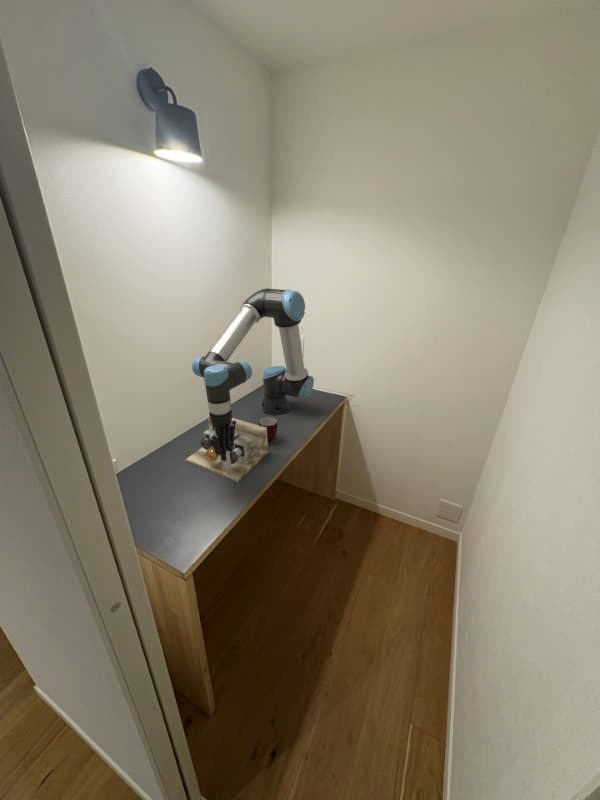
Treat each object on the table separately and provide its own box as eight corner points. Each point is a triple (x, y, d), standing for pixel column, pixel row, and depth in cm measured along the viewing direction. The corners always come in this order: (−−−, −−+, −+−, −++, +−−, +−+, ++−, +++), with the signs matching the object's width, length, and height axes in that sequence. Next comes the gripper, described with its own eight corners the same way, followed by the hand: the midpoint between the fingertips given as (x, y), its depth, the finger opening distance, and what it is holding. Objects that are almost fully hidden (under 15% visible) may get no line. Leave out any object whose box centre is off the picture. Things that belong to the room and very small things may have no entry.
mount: (220, 436, 144) (217, 413, 139) (268, 452, 134) (266, 427, 128) (186, 461, 127) (181, 436, 122) (237, 481, 117) (235, 454, 112)
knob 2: (239, 450, 128) (238, 440, 126) (248, 453, 126) (248, 443, 124) (225, 461, 121) (224, 451, 119) (235, 465, 119) (234, 455, 117)
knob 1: (215, 437, 136) (213, 428, 134) (223, 440, 134) (222, 431, 132) (201, 447, 129) (199, 438, 127) (210, 451, 127) (208, 441, 125)
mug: (267, 450, 135) (266, 430, 131) (252, 444, 139) (251, 425, 134) (281, 438, 143) (280, 419, 139) (266, 434, 147) (265, 415, 142)
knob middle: (221, 448, 129) (219, 438, 127) (230, 451, 127) (229, 441, 125) (206, 459, 122) (205, 449, 120) (216, 463, 120) (214, 452, 118)
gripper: (223, 400, 114) (230, 453, 125) (198, 416, 104) (207, 472, 114) (240, 404, 111) (245, 459, 122) (216, 421, 101) (223, 478, 111)
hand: (227, 465), depth 118 cm, fingers closed
